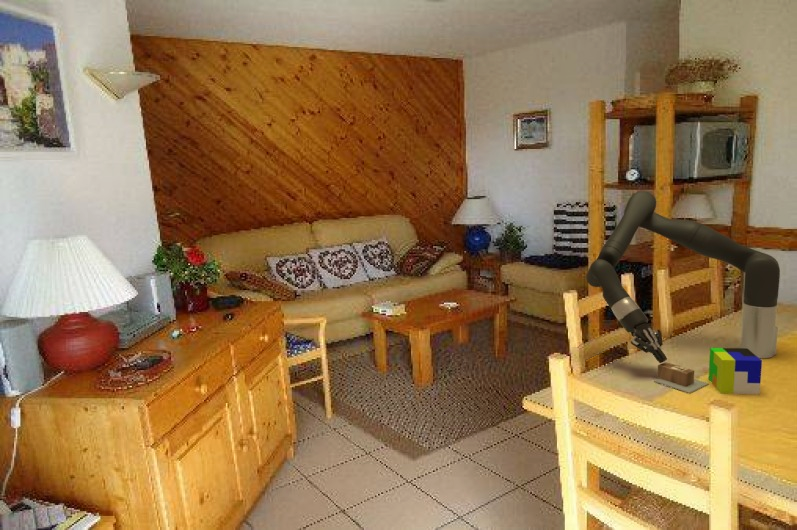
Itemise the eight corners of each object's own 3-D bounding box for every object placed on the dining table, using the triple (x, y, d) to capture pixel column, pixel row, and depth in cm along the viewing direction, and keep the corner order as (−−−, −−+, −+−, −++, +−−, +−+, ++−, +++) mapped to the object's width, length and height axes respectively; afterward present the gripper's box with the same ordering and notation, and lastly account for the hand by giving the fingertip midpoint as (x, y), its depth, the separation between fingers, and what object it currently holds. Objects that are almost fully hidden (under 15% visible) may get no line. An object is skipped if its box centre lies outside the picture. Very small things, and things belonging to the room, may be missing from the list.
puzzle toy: (759, 394, 156) (761, 360, 154) (720, 393, 158) (722, 360, 156) (745, 380, 166) (747, 348, 164) (708, 379, 168) (710, 347, 166)
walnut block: (665, 361, 171) (694, 369, 164) (665, 374, 172) (693, 383, 164) (657, 364, 169) (686, 373, 162) (657, 377, 170) (686, 386, 162)
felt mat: (673, 373, 173) (673, 372, 173) (708, 384, 164) (708, 383, 164) (653, 382, 168) (653, 380, 168) (689, 393, 159) (689, 392, 159)
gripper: (634, 316, 183) (668, 362, 175) (608, 324, 176) (642, 372, 168) (649, 304, 178) (685, 350, 170) (623, 312, 171) (659, 360, 163)
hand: (663, 361), depth 169 cm, fingers closed
